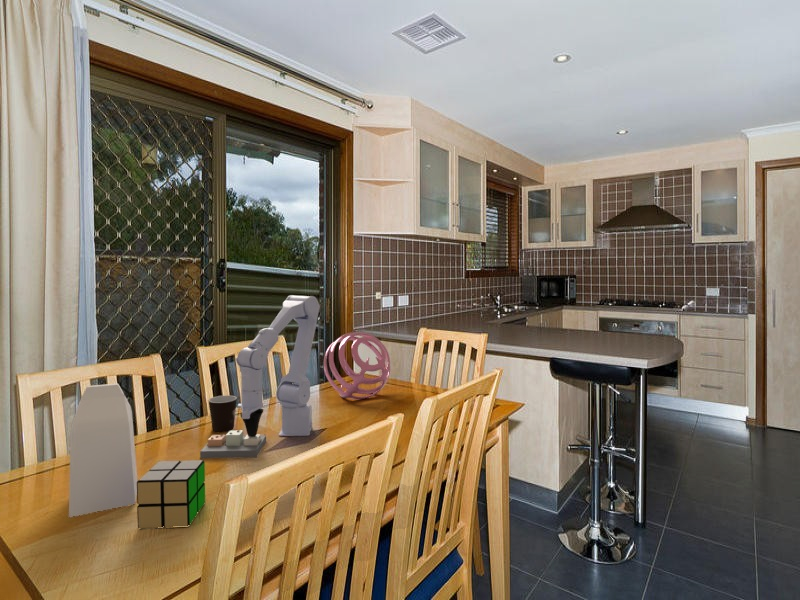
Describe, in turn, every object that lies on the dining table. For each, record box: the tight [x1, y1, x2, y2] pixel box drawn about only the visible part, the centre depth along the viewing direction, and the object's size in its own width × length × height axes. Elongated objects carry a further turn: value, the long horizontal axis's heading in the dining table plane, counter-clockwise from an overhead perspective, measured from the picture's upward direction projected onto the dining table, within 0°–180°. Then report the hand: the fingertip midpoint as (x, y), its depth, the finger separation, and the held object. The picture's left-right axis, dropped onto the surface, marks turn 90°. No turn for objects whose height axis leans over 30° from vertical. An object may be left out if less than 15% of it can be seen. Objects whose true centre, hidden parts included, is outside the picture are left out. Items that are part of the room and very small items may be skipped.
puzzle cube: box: [136, 459, 206, 529], centre depth 96 cm, size 10×10×10 cm
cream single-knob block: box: [244, 433, 262, 446], centre depth 133 cm, size 4×4×4 cm
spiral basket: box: [323, 331, 391, 400], centre depth 191 cm, size 28×28×27 cm
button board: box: [199, 434, 267, 459], centre depth 133 cm, size 15×12×2 cm
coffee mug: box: [208, 395, 238, 433], centre depth 151 cm, size 12×9×10 cm
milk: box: [68, 383, 138, 518], centre depth 102 cm, size 12×12×26 cm
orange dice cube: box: [207, 434, 226, 446], centre depth 132 cm, size 4×4×4 cm
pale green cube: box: [225, 429, 244, 446], centre depth 132 cm, size 4×4×4 cm
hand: (252, 435), depth 133 cm, fingers closed
